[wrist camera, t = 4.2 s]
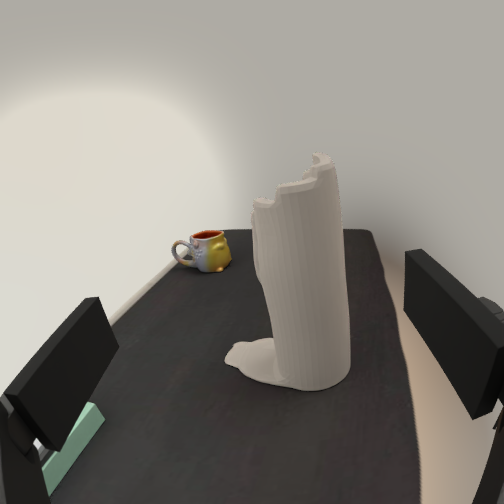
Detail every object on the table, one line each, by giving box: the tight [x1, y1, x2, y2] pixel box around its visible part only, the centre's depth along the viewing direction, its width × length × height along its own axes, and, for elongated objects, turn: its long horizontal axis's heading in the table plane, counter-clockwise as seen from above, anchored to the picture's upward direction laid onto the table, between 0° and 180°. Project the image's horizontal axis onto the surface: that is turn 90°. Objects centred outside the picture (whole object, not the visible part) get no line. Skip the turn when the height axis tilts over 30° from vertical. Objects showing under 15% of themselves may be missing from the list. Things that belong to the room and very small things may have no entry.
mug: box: [172, 230, 232, 272], centre depth 62 cm, size 12×7×7 cm, turn 70°
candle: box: [225, 152, 350, 391], centre depth 29 cm, size 7×14×20 cm, turn 62°
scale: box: [33, 402, 105, 497], centre depth 20 cm, size 16×10×3 cm, turn 166°
